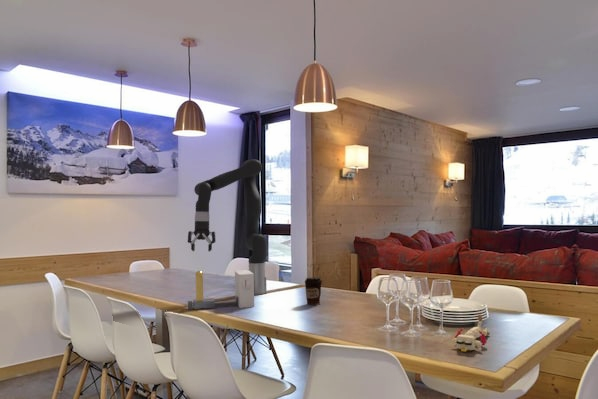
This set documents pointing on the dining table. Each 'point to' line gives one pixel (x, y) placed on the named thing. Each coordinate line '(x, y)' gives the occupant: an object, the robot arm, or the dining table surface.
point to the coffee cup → (313, 290)
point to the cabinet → (244, 288)
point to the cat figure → (471, 337)
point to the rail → (216, 304)
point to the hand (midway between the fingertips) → (201, 251)
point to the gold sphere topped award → (201, 294)
